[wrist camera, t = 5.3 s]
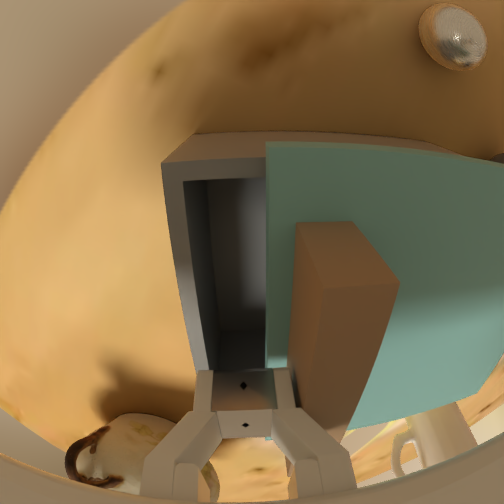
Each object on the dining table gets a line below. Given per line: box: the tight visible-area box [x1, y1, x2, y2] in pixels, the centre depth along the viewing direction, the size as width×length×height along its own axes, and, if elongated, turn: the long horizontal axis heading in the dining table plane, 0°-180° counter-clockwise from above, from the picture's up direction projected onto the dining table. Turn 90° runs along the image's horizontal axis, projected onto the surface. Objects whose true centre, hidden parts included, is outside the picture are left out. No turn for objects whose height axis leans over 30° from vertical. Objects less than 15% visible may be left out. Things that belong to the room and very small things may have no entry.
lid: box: [265, 141, 504, 477], centre depth 10 cm, size 14×14×4 cm
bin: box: [161, 131, 463, 374], centre depth 15 cm, size 13×13×7 cm
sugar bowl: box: [65, 413, 220, 502], centre depth 21 cm, size 20×15×15 cm
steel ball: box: [418, 3, 488, 71], centre depth 10 cm, size 4×4×4 cm
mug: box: [391, 402, 478, 478], centre depth 24 cm, size 10×7×12 cm, turn 101°
